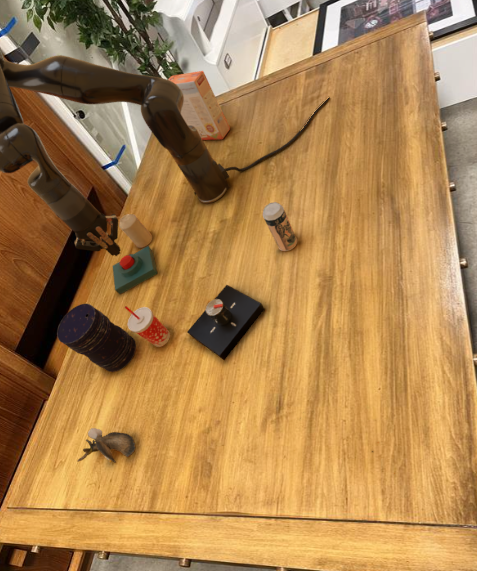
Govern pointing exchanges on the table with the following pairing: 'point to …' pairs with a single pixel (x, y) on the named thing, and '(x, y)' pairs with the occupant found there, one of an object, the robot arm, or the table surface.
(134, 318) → the beverage cup
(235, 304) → the control panel
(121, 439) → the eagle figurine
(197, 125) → the cracker box
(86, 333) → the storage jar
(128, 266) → the button
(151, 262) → the button block
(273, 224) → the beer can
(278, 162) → the table surface
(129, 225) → the candle
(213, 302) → the dial
